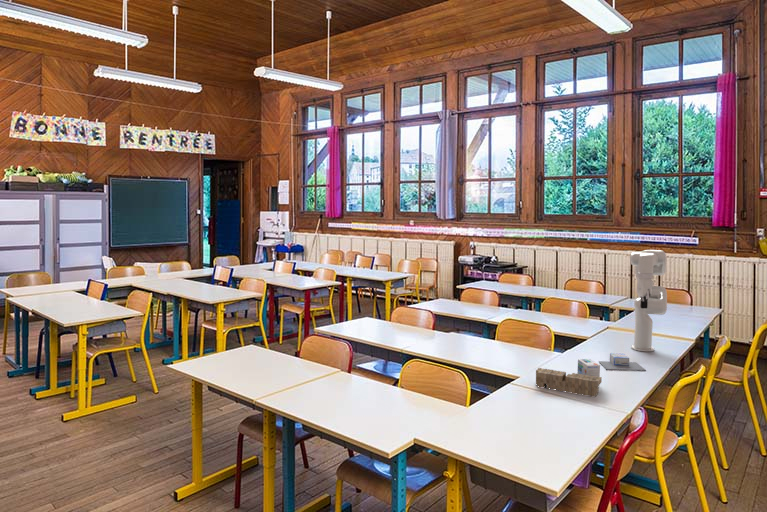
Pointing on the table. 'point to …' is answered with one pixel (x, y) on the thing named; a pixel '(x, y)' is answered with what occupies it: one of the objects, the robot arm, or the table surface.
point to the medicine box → (619, 359)
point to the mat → (621, 366)
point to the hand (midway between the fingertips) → (643, 308)
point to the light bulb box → (588, 367)
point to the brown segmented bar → (568, 381)
